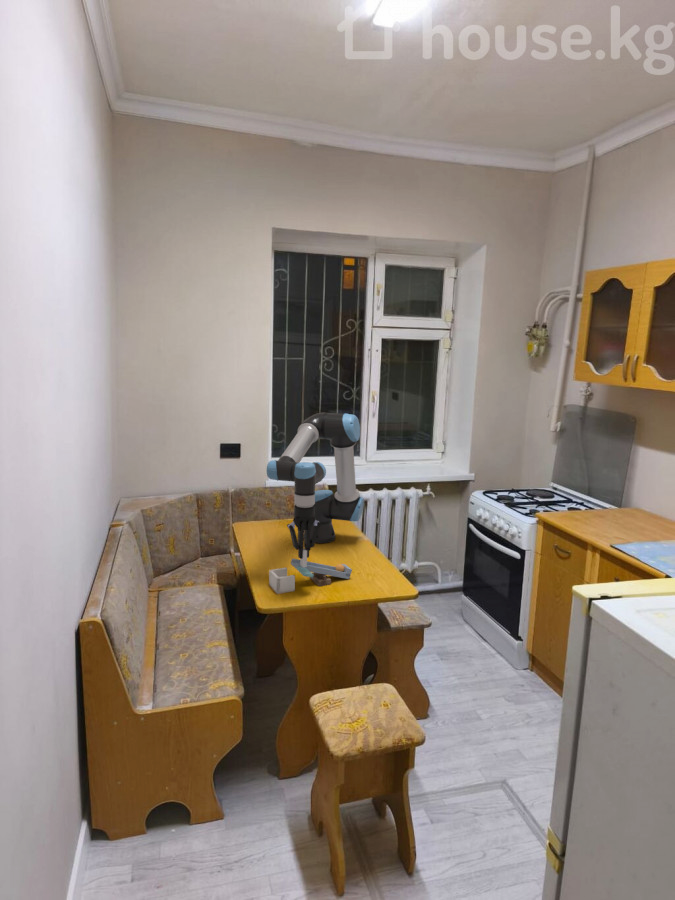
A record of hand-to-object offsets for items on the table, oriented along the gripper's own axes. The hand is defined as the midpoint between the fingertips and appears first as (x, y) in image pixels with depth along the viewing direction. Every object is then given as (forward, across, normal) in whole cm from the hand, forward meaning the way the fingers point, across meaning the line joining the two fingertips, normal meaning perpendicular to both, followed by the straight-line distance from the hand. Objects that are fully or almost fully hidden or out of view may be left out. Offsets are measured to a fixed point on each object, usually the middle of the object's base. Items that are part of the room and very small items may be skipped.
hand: (303, 565), depth 217 cm
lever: (+6, -10, -3) cm, 12 cm away
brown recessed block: (+10, -10, -7) cm, 16 cm away
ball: (+8, -18, -7) cm, 21 cm away
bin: (+10, +6, -7) cm, 14 cm away
